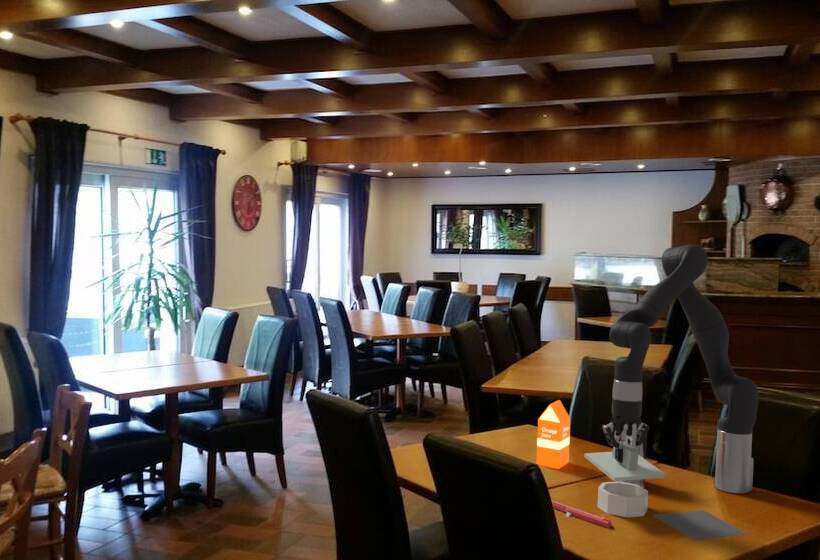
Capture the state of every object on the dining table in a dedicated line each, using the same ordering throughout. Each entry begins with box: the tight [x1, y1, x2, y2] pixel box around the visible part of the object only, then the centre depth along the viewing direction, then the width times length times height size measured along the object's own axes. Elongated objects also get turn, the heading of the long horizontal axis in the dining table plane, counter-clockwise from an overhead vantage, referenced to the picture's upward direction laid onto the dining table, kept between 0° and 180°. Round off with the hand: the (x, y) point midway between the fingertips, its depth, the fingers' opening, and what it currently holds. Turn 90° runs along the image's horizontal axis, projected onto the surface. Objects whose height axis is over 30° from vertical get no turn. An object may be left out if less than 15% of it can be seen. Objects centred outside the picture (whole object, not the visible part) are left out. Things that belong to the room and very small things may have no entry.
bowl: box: [597, 481, 649, 518], centre depth 192 cm, size 12×12×6 cm
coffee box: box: [620, 429, 648, 489], centre depth 213 cm, size 9×6×16 cm
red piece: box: [551, 500, 612, 529], centre depth 188 cm, size 24×2×5 cm
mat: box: [652, 509, 748, 541], centre depth 182 cm, size 16×16×1 cm
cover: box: [583, 441, 666, 482], centre depth 191 cm, size 15×15×6 cm
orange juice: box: [535, 399, 571, 470], centre depth 231 cm, size 8×9×20 cm
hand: (624, 461), depth 192 cm, fingers closed on cover, 2 cm apart
